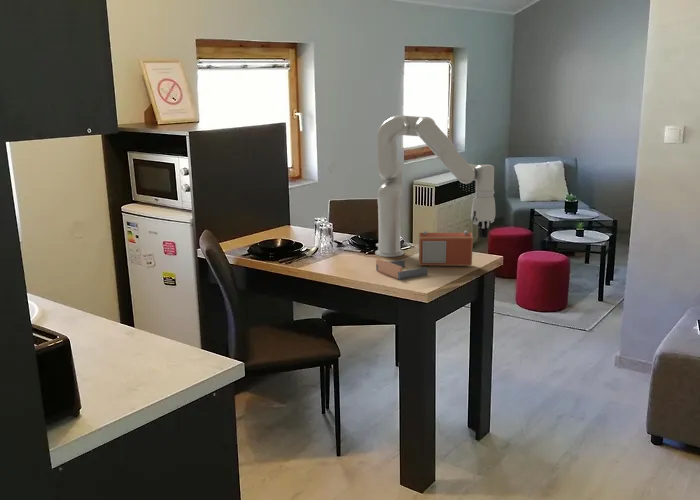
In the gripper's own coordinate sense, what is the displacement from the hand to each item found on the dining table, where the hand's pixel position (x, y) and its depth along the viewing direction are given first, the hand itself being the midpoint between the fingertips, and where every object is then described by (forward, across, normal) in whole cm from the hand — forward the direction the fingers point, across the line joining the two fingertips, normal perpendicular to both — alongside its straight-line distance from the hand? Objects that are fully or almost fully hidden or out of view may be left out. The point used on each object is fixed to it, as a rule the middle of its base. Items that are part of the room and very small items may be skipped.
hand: (483, 236), depth 280 cm
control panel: (+10, +21, 0) cm, 23 cm away
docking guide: (+10, +42, 0) cm, 43 cm away
